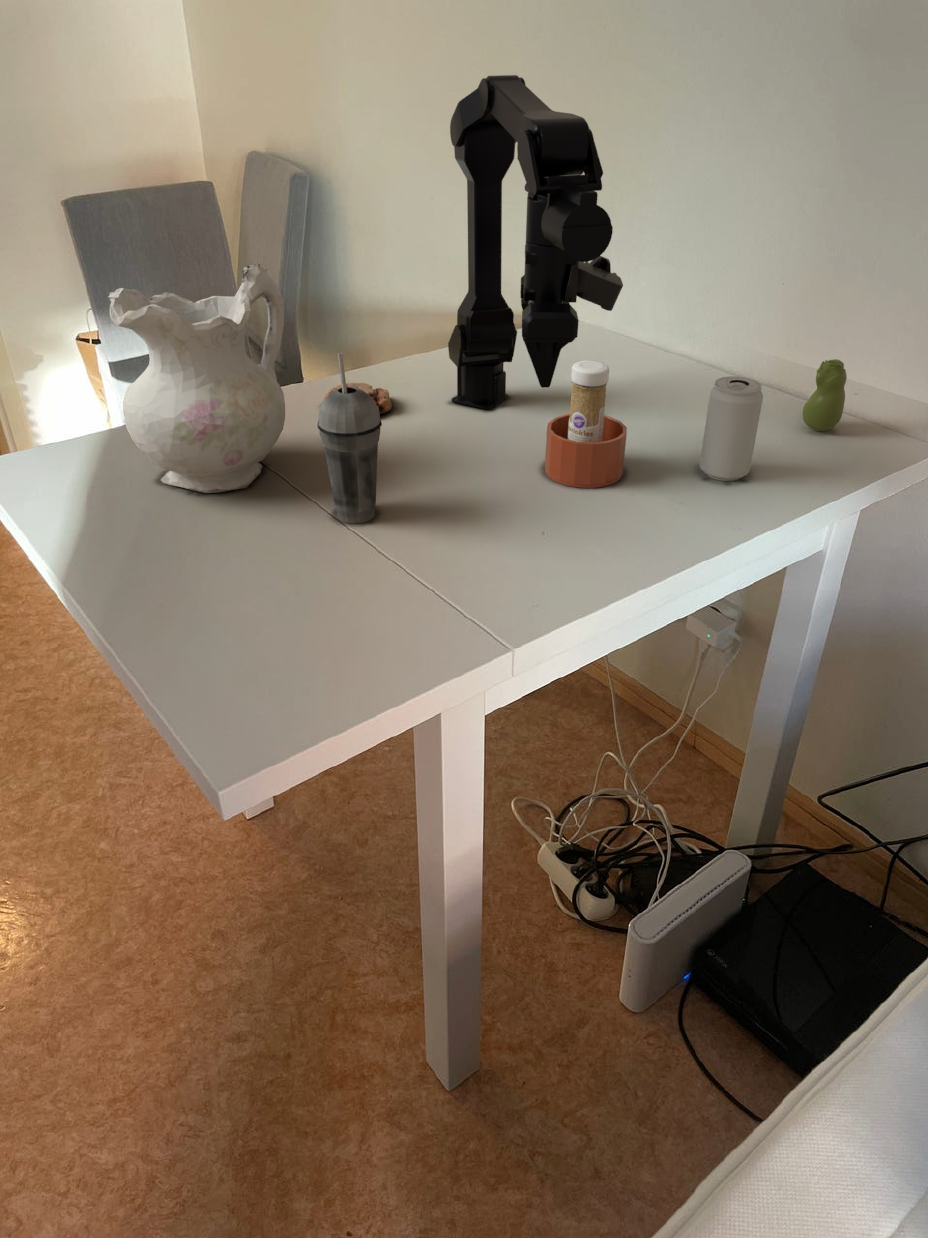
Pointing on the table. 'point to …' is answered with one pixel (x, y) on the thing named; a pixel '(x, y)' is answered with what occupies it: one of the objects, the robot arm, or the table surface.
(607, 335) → the table surface
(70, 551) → the table surface
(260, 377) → the ceramic pitcher
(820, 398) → the pear
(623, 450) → the bowl
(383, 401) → the cookie
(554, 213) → the robot arm
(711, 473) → the beverage can
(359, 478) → the beverage cup
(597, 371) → the sprinkles bottle
